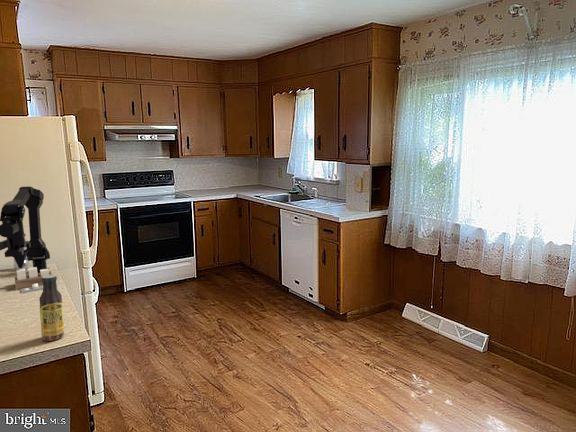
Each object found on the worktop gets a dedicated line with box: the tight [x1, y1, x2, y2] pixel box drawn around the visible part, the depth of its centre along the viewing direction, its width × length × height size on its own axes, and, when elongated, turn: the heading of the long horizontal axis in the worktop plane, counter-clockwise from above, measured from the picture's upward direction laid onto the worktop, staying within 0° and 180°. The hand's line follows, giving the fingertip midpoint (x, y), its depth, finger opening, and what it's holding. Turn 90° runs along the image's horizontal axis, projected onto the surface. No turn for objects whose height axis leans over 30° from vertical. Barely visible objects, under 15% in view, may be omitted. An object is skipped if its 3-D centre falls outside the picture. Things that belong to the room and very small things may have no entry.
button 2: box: [40, 268, 50, 276], centre depth 192 cm, size 3×3×5 cm
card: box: [20, 283, 43, 294], centre depth 183 cm, size 4×10×2 cm, turn 123°
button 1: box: [15, 269, 27, 280], centre depth 187 cm, size 3×3×5 cm
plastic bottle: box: [13, 238, 30, 271], centre depth 213 cm, size 6×7×20 cm
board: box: [14, 270, 53, 291], centre depth 190 cm, size 10×14×4 cm
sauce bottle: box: [39, 274, 65, 342], centre depth 133 cm, size 6×6×20 cm
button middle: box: [27, 266, 38, 278], centre depth 189 cm, size 3×3×5 cm
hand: (20, 268), depth 186 cm, fingers closed
